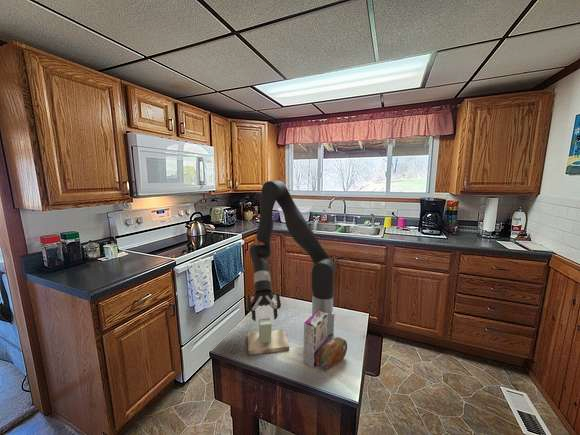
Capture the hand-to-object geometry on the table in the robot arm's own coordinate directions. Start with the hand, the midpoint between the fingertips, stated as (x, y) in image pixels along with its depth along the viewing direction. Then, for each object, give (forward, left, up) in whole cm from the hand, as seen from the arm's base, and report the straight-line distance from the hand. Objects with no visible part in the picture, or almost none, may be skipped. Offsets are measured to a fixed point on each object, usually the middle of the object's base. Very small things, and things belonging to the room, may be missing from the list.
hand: (265, 319), depth 102 cm
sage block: (0, +1, -8) cm, 8 cm away
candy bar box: (-18, +13, -10) cm, 24 cm away
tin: (-23, +17, -10) cm, 30 cm away
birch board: (-1, +1, -10) cm, 10 cm away
